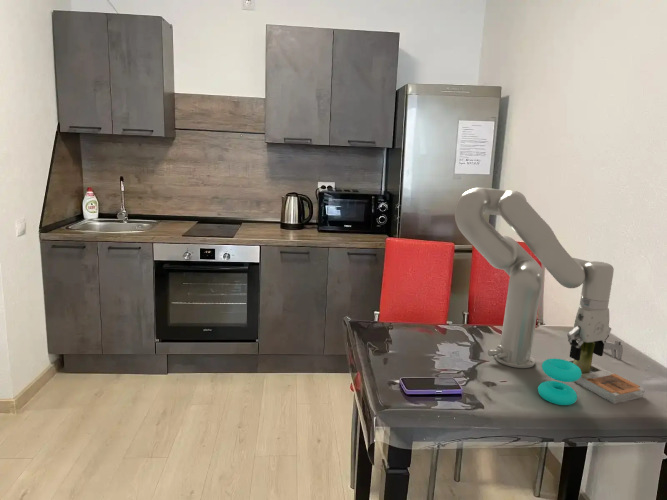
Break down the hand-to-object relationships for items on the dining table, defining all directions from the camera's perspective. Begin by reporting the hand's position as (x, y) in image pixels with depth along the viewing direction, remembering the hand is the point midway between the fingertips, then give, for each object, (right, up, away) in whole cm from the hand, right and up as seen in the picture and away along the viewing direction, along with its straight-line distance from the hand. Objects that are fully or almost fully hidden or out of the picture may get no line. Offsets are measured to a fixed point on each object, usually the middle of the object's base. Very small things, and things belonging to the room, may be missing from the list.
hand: (586, 356), depth 154 cm
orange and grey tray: (+1, -7, -3) cm, 8 cm away
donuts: (-15, -9, -14) cm, 23 cm away
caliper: (+15, -2, +24) cm, 28 cm away
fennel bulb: (-1, -6, +2) cm, 6 cm away
